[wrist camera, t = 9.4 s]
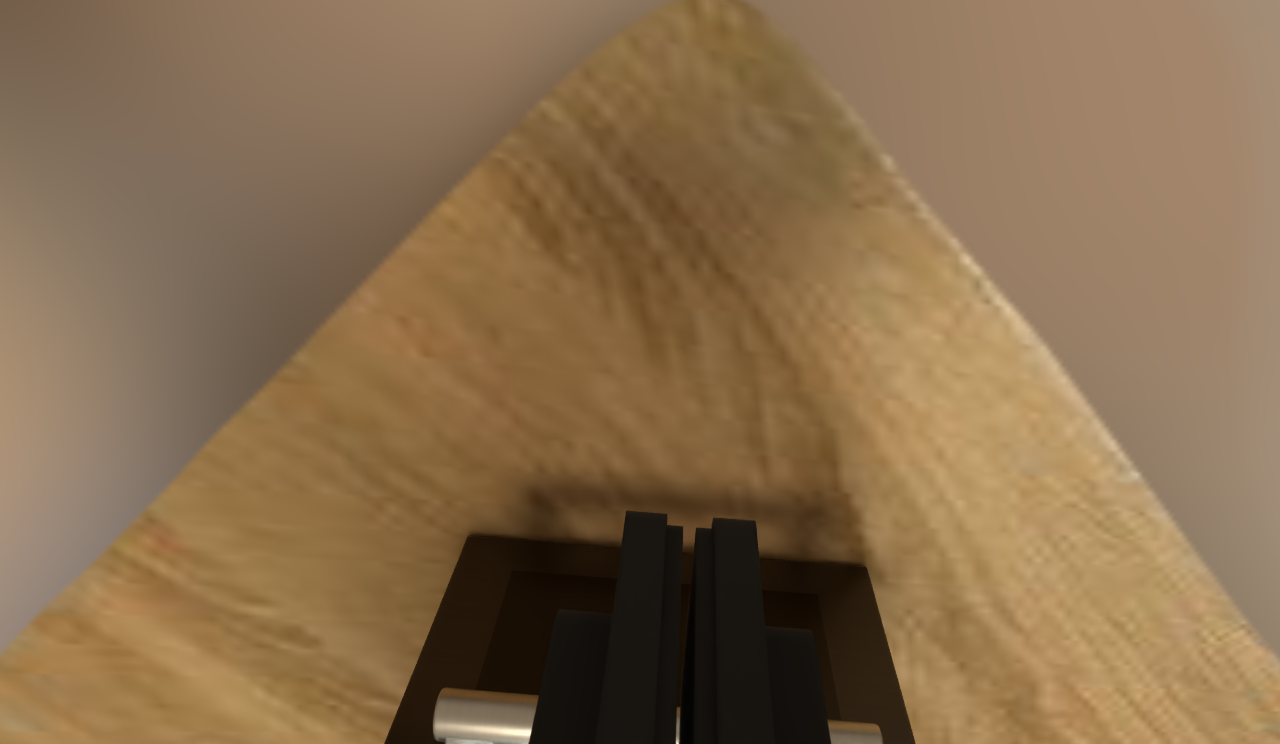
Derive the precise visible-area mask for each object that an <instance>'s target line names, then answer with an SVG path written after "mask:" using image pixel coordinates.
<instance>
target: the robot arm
mask: <svg viewBox="0 0 1280 744" xmlns="http://www.w3.org/2000/svg"><path fill="white" fill-rule="evenodd" d="M682 548H683V526H671V525H667V514H661V513H648V512H635V511H626V516H625V523H624V531H623V539H622V546H621V554H620V561H619V569H618V576H617V584H616V592H615V599H614V607H613V613H601V612H588V611H576V610H564V609H559V610H558V612H557V614H556V618H555V622H554V627H553V631H552V636H551V641H550V645H549V650H548V655H547V659H546V664H545V669H544V673H543V678H542V683H541V687H540V692H539V697H538V702H537V706H536V711H535V716H534V720H533V725H532V730H531V734H530V739H529V744H676V723H677V694H678V665H679V636H680V607H681V578H682ZM679 744H831V739H830V732H829V726H828V720H827V713H826V707H825V700H824V694H823V687H822V681H821V674H820V668H819V661H818V655H817V648H816V643H815V638H814V634H813V632H812V631H811V630H808V629H796V628H784V627H771V626H765V620H764V608H763V596H762V585H761V573H760V562H759V550H758V539H757V527H756V522H755V521H752V520H739V519H726V518H713V522H712V529H709V528H696V533H695V543H694V554H693V564H692V575H691V585H690V596H689V606H688V617H687V627H686V638H685V648H684V659H683V669H682V681H681V697H680V727H679Z"/></svg>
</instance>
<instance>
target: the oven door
mask: <svg viewBox="0 0 1280 744" xmlns="http://www.w3.org/2000/svg"><path fill="white" fill-rule="evenodd" d="M620 554H621V548H615V547H602V546H590V545H577V544H564V543H551V542H538V541H525V540H512V539H499V538H486V537H474V536H468V537H467V539H466V542H465V544H464V547H463V549H462V552H461V554H460V557H459V559H458V562H457V564H456V567H455V569H454V572H453V574H452V577H451V579H450V582H449V584H448V587H447V589H446V592H445V594H444V596H443V599H442V601H441V604H440V606H439V609H438V611H437V614H436V616H435V619H434V621H433V624H432V626H431V629H430V631H429V634H428V636H427V639H426V641H425V644H424V646H423V649H422V651H421V654H420V656H419V659H418V661H417V664H416V666H415V669H414V671H413V674H412V676H411V679H410V681H409V684H408V686H407V688H406V691H405V693H404V696H403V698H402V701H401V703H400V706H399V708H398V711H397V713H396V716H395V718H394V721H393V723H392V726H391V728H390V731H389V733H388V736H387V738H386V741H385V743H384V744H529V739H530V734H531V730H532V725H533V720H534V716H535V711H536V706H537V702H538V697H539V692H540V687H541V683H542V678H543V673H544V669H545V664H546V659H547V655H548V650H549V645H550V641H551V636H552V631H553V627H554V622H555V618H556V614H557V612H558V610H559V609H564V610H576V611H588V612H601V613H613V607H614V599H615V592H616V584H617V576H618V569H619V561H620ZM759 562H760V573H761V585H762V596H763V608H764V620H765V626H771V627H784V628H796V629H808V630H811V631H812V632H813V634H814V638H815V643H816V648H817V655H818V661H819V668H820V674H821V681H822V687H823V694H824V700H825V707H826V713H827V720H828V726H829V732H830V739H831V744H916V743H915V740H914V736H913V733H912V729H911V725H910V722H909V718H908V714H907V711H906V707H905V704H904V700H903V696H902V693H901V689H900V686H899V682H898V678H897V675H896V671H895V667H894V664H893V660H892V657H891V653H890V649H889V646H888V642H887V639H886V635H885V631H884V628H883V624H882V620H881V617H880V613H879V610H878V606H877V602H876V599H875V595H874V592H873V588H872V584H871V581H870V577H869V573H868V570H867V568H866V567H860V566H847V565H834V564H822V563H809V562H796V561H783V560H770V559H759ZM692 564H693V553H682V578H681V607H680V636H679V665H678V694H677V723H676V744H679V727H680V697H681V681H682V669H683V659H684V648H685V638H686V627H687V617H688V606H689V596H690V585H691V575H692Z"/></svg>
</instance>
